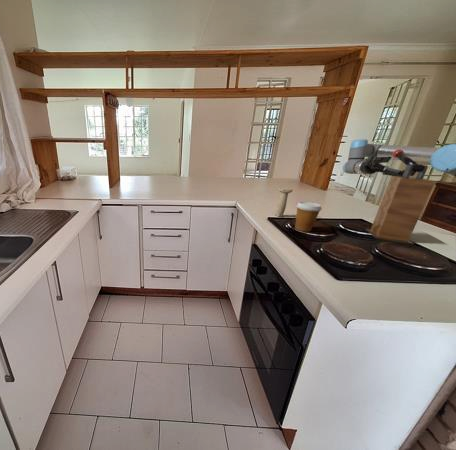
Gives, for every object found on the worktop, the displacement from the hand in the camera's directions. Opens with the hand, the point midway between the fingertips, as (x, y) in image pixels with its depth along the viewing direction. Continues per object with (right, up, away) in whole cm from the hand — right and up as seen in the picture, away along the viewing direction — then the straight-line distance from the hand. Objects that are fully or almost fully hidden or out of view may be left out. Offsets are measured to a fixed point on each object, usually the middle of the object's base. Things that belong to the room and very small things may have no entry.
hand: (401, 166), depth 110 cm
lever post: (-16, -34, -9) cm, 38 cm away
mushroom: (-49, -23, +17) cm, 57 cm away
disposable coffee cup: (-48, -30, -2) cm, 56 cm away
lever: (-10, -2, -11) cm, 15 cm away
